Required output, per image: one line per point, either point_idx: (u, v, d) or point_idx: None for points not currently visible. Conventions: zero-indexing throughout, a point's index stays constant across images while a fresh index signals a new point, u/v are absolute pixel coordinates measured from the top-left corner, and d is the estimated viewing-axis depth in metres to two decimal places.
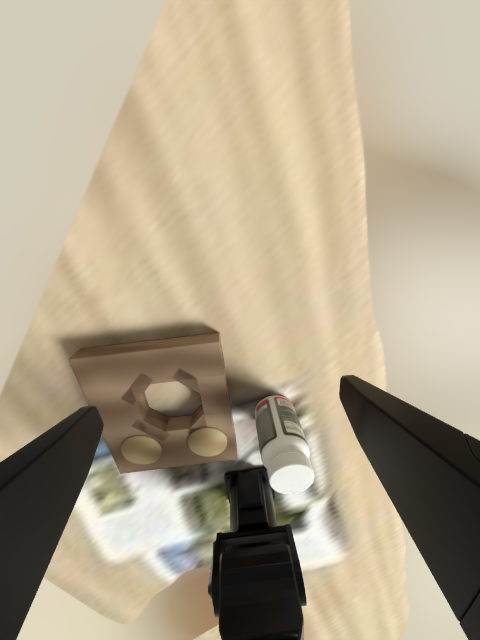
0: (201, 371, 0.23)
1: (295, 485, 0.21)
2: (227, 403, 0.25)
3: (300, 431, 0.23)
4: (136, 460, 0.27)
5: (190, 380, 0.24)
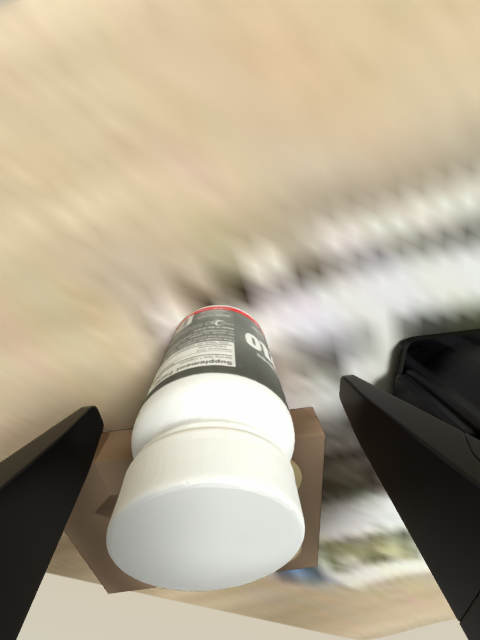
0: (94, 490, 0.13)
1: (245, 535, 0.05)
2: None
3: (161, 373, 0.07)
4: None
5: None
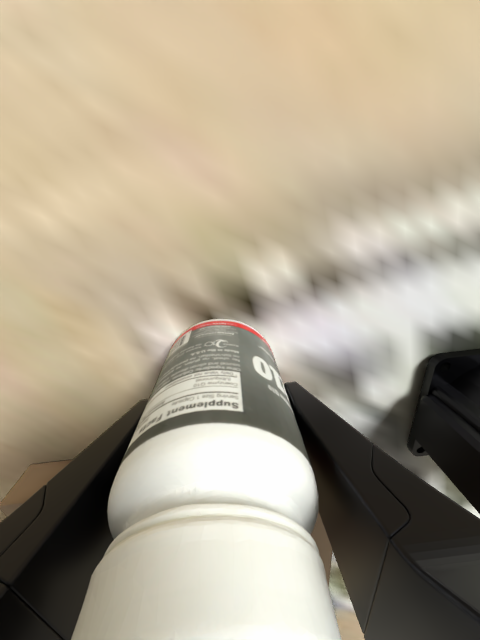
0: None
1: None
2: None
3: (149, 413, 0.06)
4: None
5: None
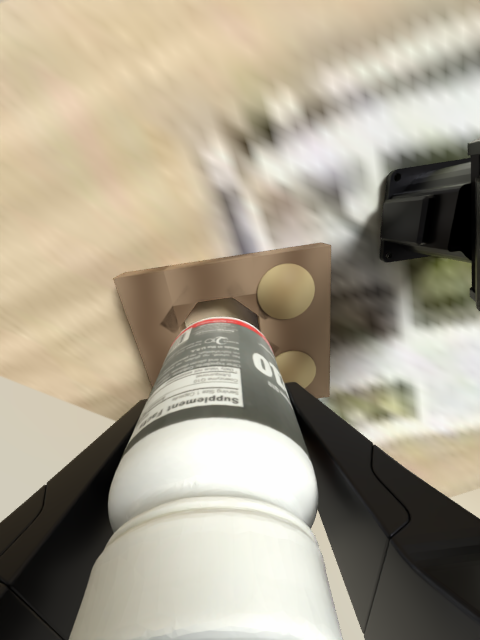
0: (162, 300, 0.18)
1: None
2: (213, 264, 0.17)
3: (149, 409, 0.06)
4: (306, 379, 0.21)
5: (177, 313, 0.19)
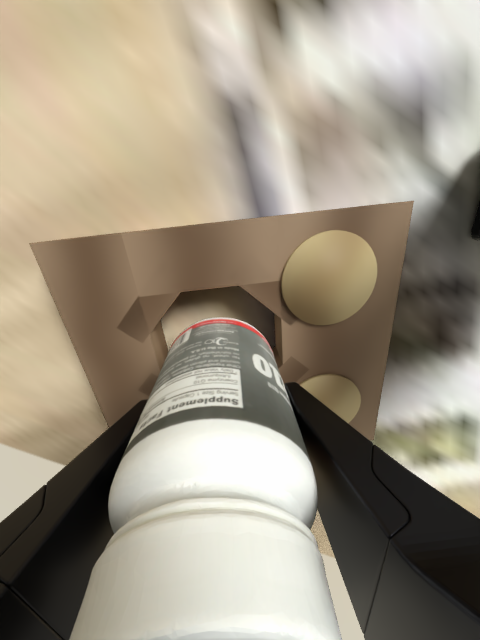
0: (119, 286, 0.11)
1: None
2: (209, 226, 0.10)
3: (149, 410, 0.06)
4: (344, 416, 0.14)
5: (146, 309, 0.11)
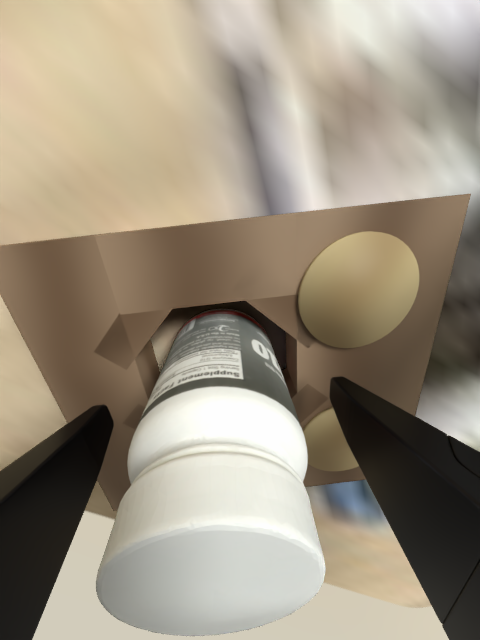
0: (95, 301, 0.08)
1: (256, 579, 0.04)
2: (207, 226, 0.08)
3: (161, 384, 0.07)
4: None
5: (129, 329, 0.09)
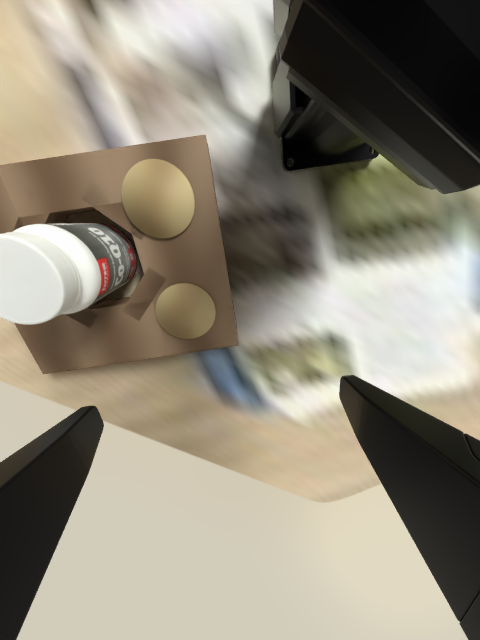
0: (3, 208, 0.15)
1: (28, 275, 0.10)
2: (58, 159, 0.14)
3: None
4: (205, 321, 0.18)
5: None
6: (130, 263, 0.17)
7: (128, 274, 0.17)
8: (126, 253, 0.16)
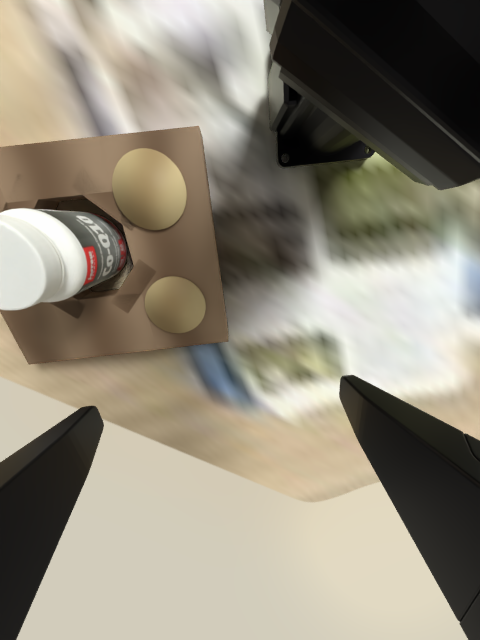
0: None
1: (8, 259, 0.10)
2: (48, 144, 0.13)
3: None
4: (195, 316, 0.18)
5: None
6: (121, 254, 0.17)
7: (118, 265, 0.17)
8: (116, 244, 0.16)
